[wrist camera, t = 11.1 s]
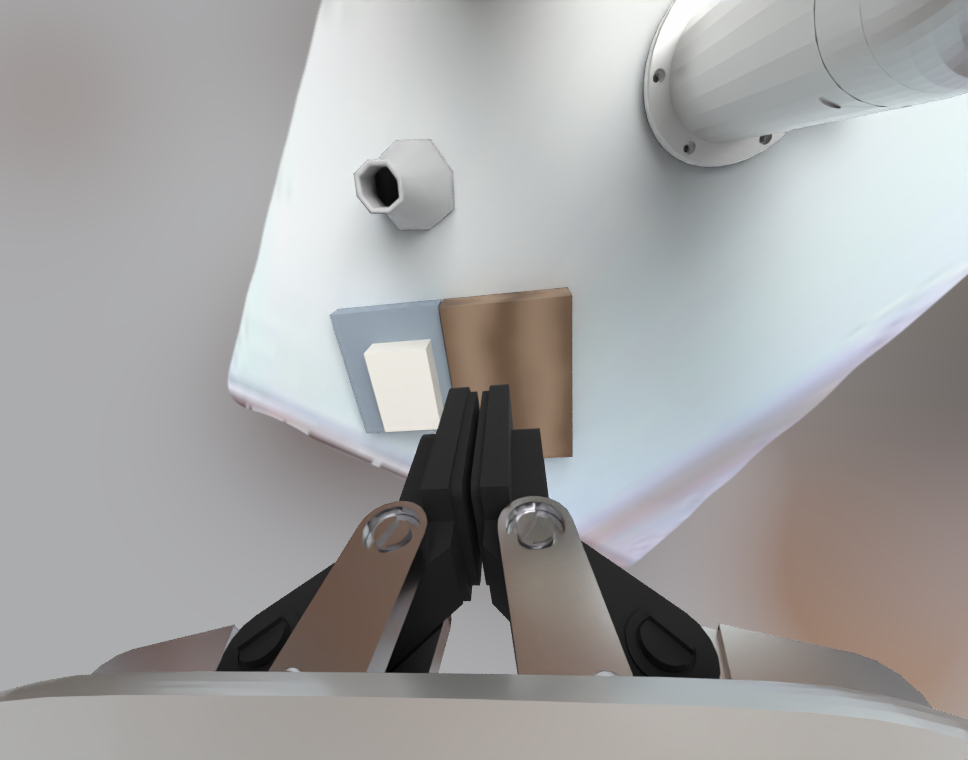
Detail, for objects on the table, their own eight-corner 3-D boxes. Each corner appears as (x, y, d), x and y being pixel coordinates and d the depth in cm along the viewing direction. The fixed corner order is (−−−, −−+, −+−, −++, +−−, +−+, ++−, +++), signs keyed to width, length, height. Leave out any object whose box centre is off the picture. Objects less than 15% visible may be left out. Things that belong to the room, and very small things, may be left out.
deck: (567, 287, 35) (572, 295, 33) (568, 440, 44) (572, 456, 41) (444, 299, 37) (438, 307, 34) (467, 445, 45) (465, 461, 42)
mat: (441, 299, 37) (437, 305, 35) (460, 417, 43) (458, 427, 41) (338, 309, 38) (329, 315, 36) (372, 423, 44) (366, 433, 42)
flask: (395, 242, 34) (355, 262, 26) (358, 157, 31) (299, 145, 23) (467, 215, 33) (452, 226, 24) (437, 122, 30) (406, 96, 21)
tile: (430, 339, 36) (425, 348, 34) (444, 415, 41) (441, 429, 38) (372, 343, 37) (363, 353, 35) (391, 418, 41) (385, 432, 39)
